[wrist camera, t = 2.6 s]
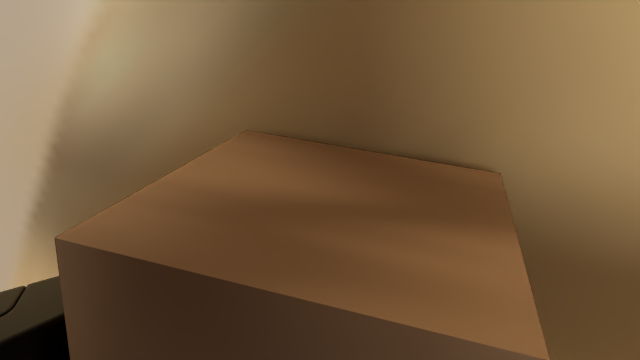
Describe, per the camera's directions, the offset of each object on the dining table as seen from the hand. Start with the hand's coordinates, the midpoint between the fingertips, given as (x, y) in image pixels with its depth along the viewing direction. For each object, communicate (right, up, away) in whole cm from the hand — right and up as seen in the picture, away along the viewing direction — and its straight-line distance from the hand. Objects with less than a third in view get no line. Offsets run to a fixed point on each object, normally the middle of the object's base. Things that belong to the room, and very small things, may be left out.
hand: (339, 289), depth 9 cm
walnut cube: (0, 0, +1) cm, 1 cm away
